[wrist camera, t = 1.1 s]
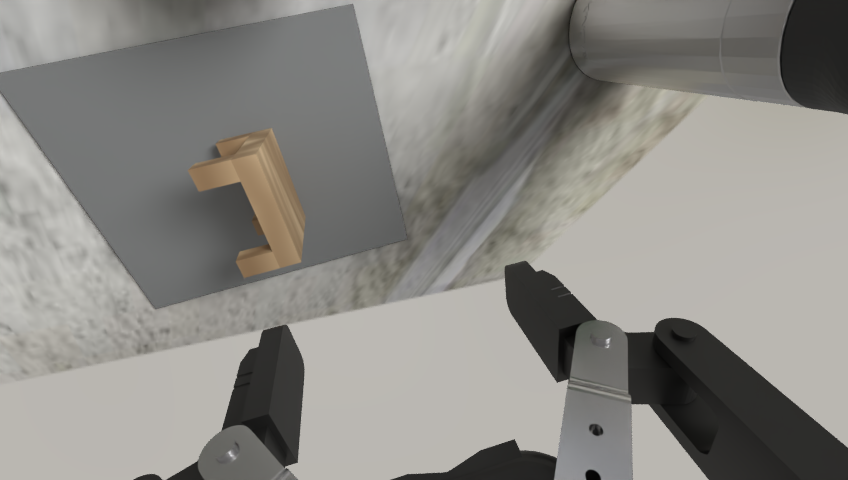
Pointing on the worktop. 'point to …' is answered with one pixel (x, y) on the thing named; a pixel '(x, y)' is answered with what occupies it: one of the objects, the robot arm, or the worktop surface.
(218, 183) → the wooden bench
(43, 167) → the worktop surface
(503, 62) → the worktop surface
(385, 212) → the mat
